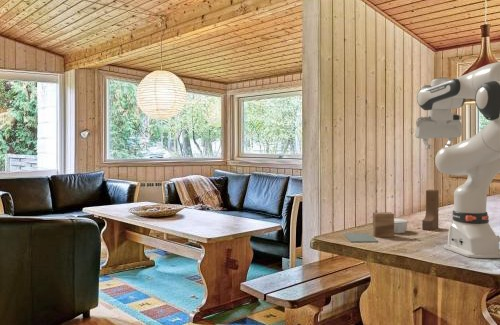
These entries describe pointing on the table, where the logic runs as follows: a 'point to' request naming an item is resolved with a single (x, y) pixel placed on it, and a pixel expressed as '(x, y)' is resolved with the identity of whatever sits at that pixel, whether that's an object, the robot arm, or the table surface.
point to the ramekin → (400, 225)
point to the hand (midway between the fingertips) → (437, 148)
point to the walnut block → (383, 224)
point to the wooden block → (431, 210)
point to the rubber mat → (360, 237)
